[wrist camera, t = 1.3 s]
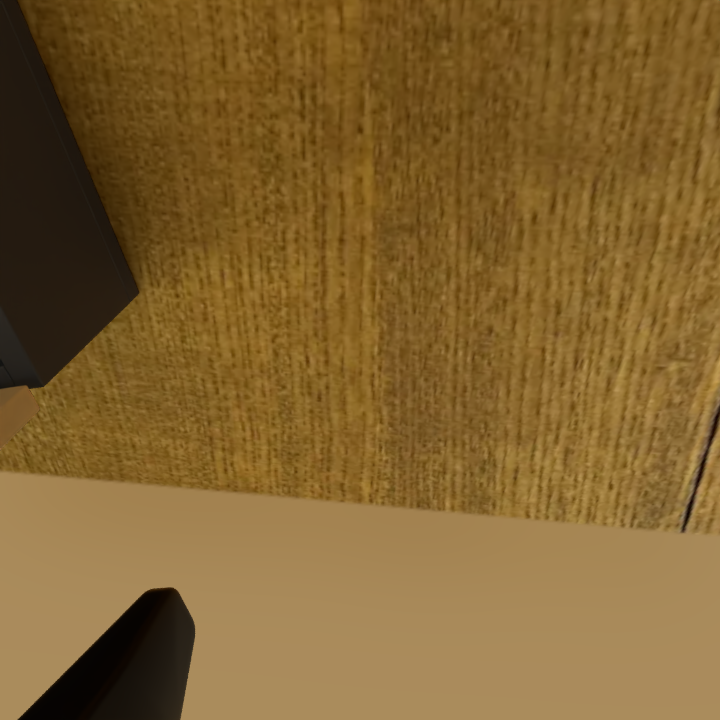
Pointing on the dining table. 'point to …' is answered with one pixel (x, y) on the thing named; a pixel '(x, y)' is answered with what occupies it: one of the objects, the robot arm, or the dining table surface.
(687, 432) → the dining table surface
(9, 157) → the box
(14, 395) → the lid
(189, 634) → the robot arm
